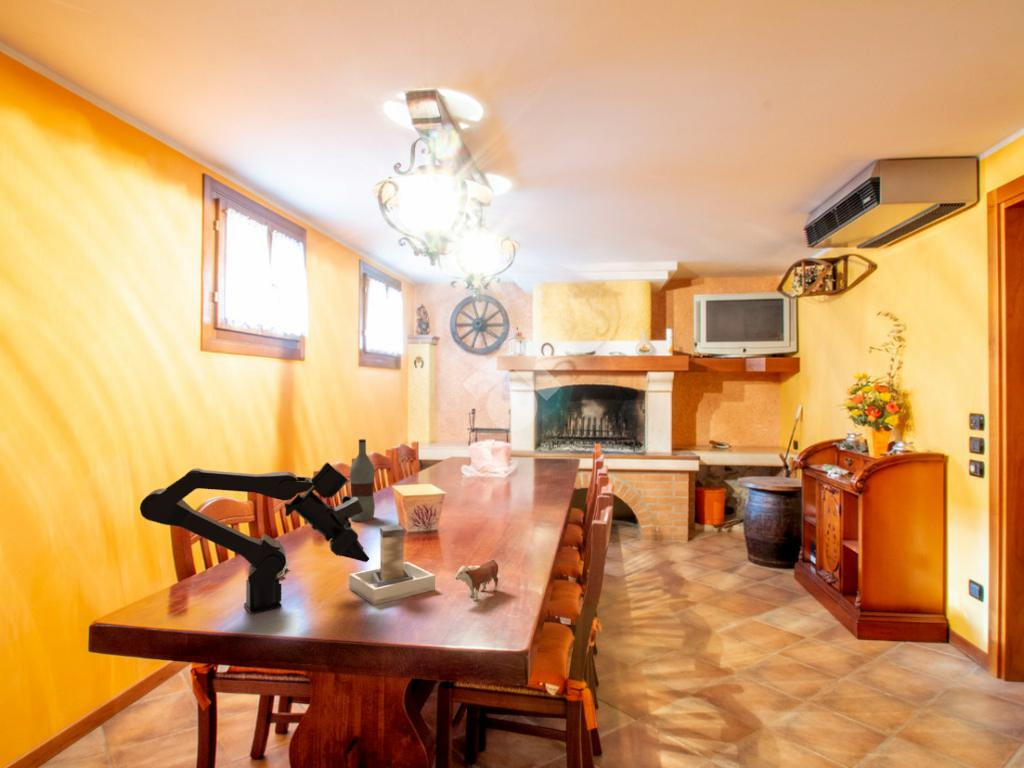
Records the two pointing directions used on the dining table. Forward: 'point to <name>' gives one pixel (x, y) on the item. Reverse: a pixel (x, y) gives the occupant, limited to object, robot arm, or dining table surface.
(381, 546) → the wooden block
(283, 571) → the pipe fitting
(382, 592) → the walled box
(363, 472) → the bottle
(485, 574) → the bull figurine
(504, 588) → the dining table surface
